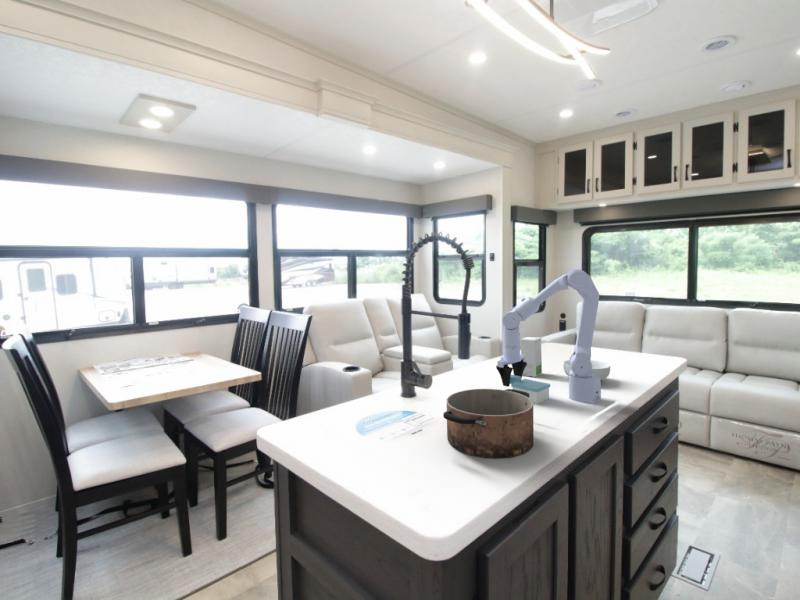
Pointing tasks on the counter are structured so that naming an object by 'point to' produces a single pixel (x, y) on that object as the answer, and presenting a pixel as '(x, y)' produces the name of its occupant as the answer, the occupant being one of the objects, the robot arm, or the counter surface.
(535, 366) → the skincare box
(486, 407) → the cooking pot
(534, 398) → the tub
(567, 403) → the counter surface
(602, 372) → the cereal bowl
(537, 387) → the lid
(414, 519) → the counter surface
